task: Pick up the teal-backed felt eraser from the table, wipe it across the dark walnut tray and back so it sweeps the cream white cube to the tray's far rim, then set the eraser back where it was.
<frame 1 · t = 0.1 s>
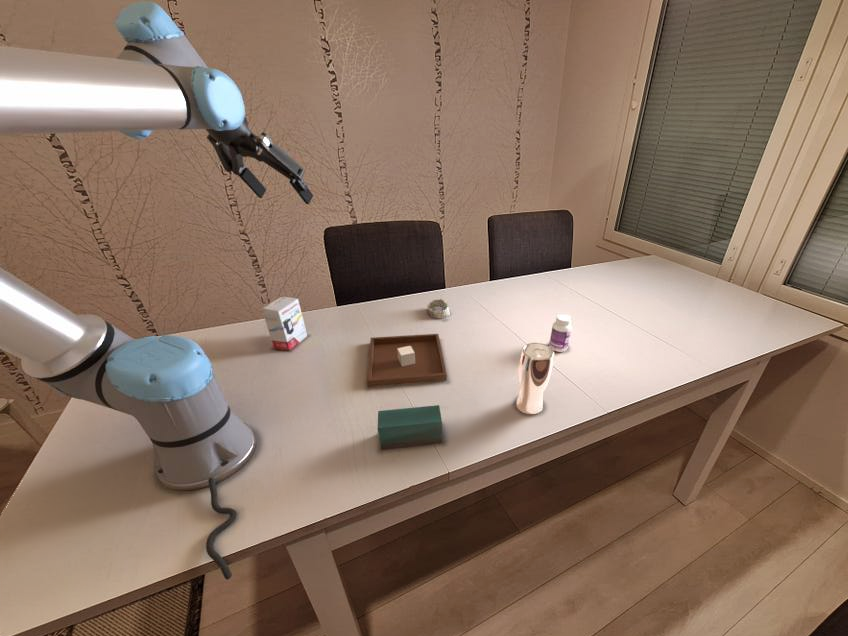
hand: (286, 196, 89), 36 cm above the table, tool tilted 35°, fingers open, 13 cm apart
pill bottle: (558, 347, 106), on the table
ink box: (291, 342, 102), on the table
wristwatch: (438, 314, 120), on the table
cream white cube: (406, 361, 96), point 1 cm above the table, touching tray
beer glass: (529, 406, 85), on the table
tray: (406, 362, 97), on the table
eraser: (411, 437, 75), on the table
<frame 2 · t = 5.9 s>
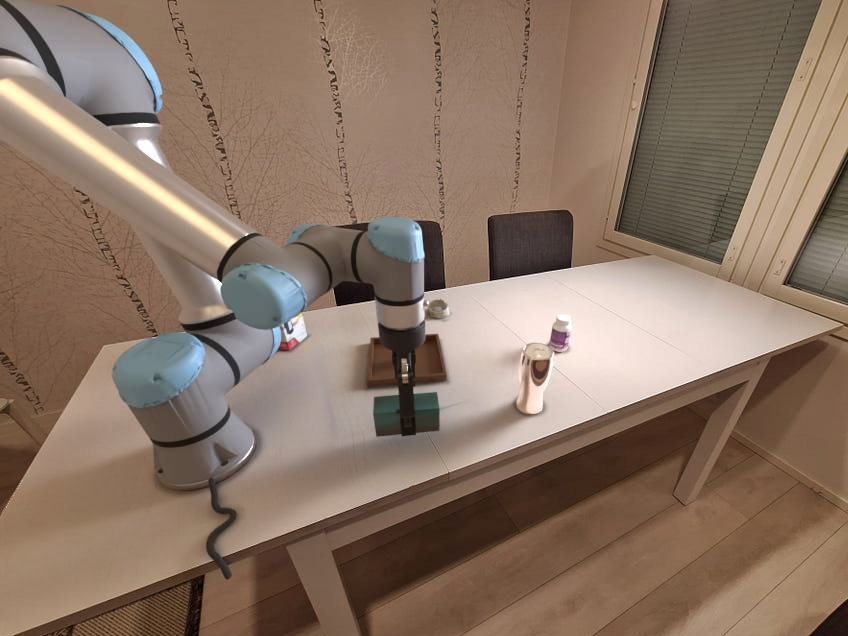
hand: (408, 423, 73), 4 cm above the table, tool pointing down, fingers closed on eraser, 5 cm apart
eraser: (407, 425, 73), point 3 cm above the table, touching gripper
everything else where it was.
when the fingers open (3 cm above the table, at t = 9.8 s): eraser drops 2 cm, resting on tray.
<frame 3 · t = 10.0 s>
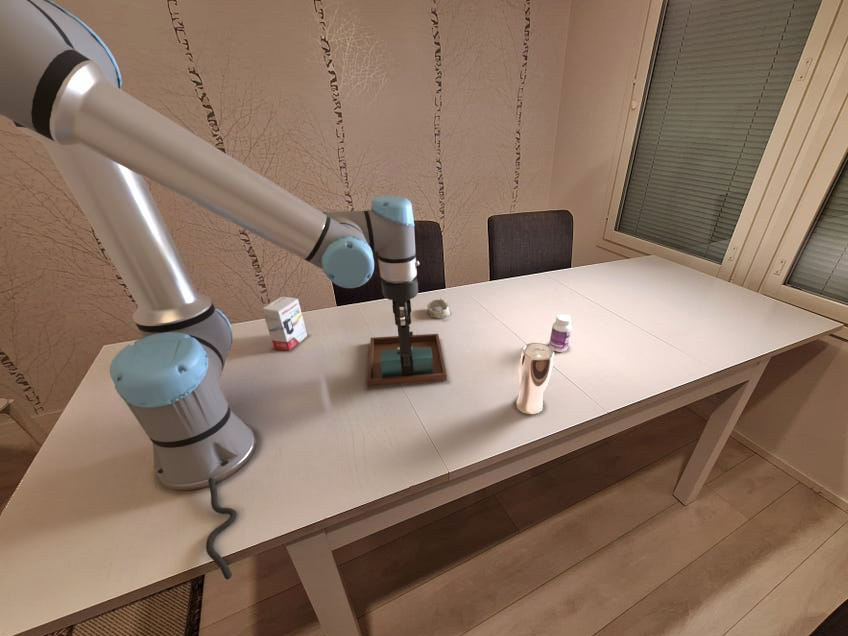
hand: (407, 366, 90), 3 cm above the table, tool pointing down, fingers open, 5 cm apart
cream white cube: (406, 361, 96), point 1 cm above the table, touching gripper
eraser: (407, 373, 92), point 1 cm above the table, touching tray
everything else where it was.
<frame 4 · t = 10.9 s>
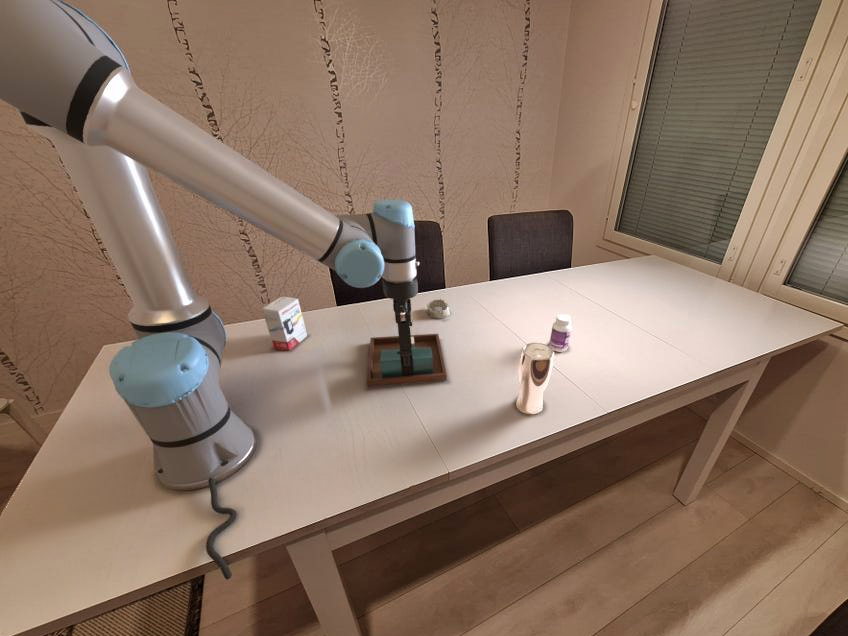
hand: (407, 361, 93), 3 cm above the table, tool pointing down, fingers open, 10 cm apart
cream white cube: (408, 351, 100), point 1 cm above the table, touching gripper
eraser: (407, 373, 92), point 1 cm above the table, touching gripper, tray
everything else where it was.
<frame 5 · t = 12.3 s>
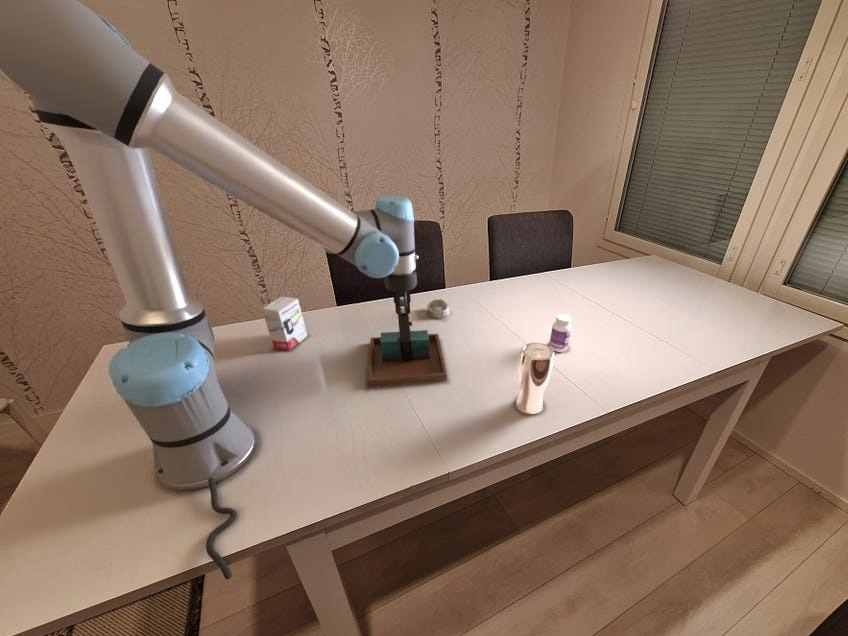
hand: (406, 354, 98), 1 cm above the table, tool pointing down, fingers closed on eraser, 5 cm apart
cream white cube: (408, 345, 102), point 1 cm above the table, touching gripper, tray
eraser: (406, 355, 98), point 1 cm above the table, touching gripper, tray
everything else where it was.
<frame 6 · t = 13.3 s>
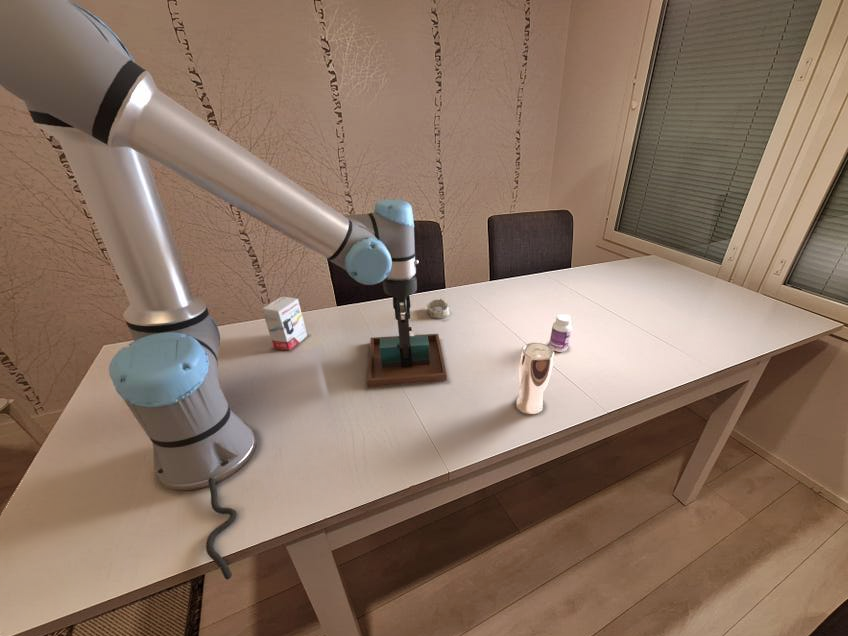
hand: (406, 359, 96), 1 cm above the table, tool pointing down, fingers closed on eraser, 5 cm apart
cream white cube: (408, 345, 102), point 1 cm above the table, touching tray
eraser: (405, 360, 96), point 1 cm above the table, touching gripper
everything else where it was.
when the fingers open (0 cm above the table, at t = 21.0 s): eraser stays where it is, on the table.
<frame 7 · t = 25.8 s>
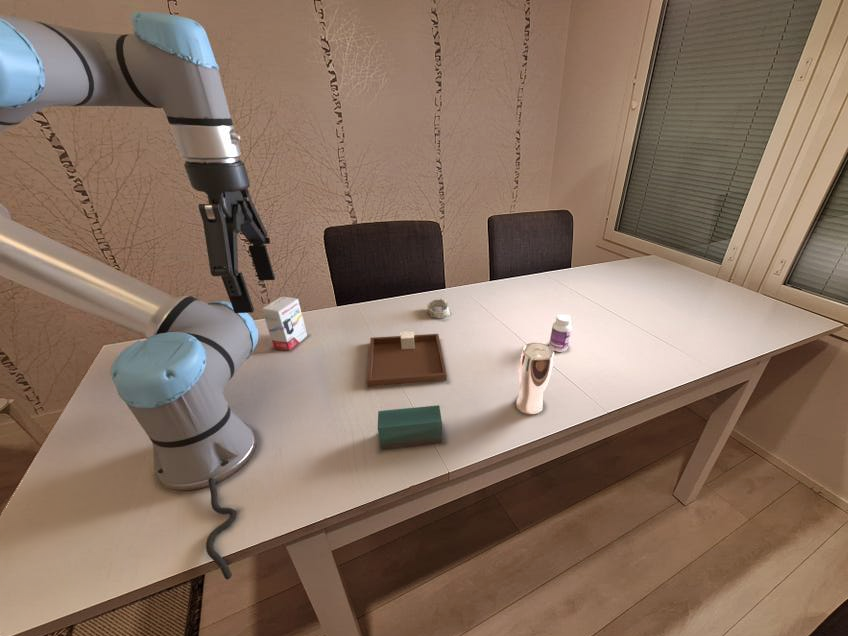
hand: (256, 294, 66), 27 cm above the table, tool pointing down, fingers open, 13 cm apart
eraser: (411, 437, 75), on the table
everything else where it was.
at the end: cream white cube inside the target area in the tray (0.8 cm from its centre), point 0.6 cm above the tray's base; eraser inside the target area (0.0 cm from its centre), on the table; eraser tilted 0° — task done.
